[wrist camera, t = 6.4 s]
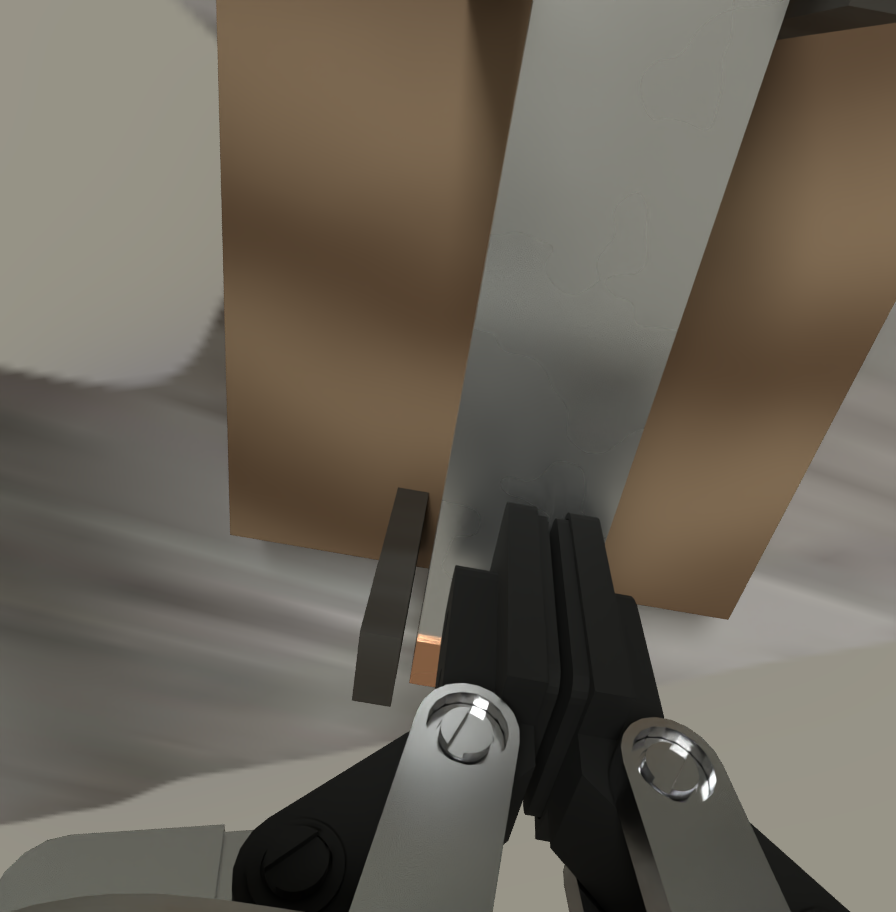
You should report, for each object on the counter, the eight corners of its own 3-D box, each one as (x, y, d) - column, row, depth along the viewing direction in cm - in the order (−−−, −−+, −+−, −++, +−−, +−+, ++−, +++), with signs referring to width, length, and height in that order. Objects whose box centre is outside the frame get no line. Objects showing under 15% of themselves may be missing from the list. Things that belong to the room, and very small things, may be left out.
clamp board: (253, -252, 11) (-37, -632, 5) (1032, -107, 11) (1623, -315, 5) (254, 494, 19) (142, 681, 13) (708, 572, 20) (798, 791, 14)
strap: (567, -198, 8) (582, -264, 6) (804, -153, 8) (870, -210, 7) (416, 636, 15) (407, 692, 13) (546, 658, 15) (551, 716, 13)
